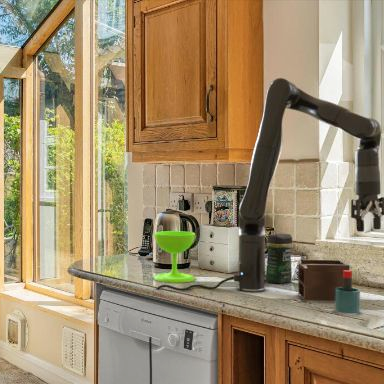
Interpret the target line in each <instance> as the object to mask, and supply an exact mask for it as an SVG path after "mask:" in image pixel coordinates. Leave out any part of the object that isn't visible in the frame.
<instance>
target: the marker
mask: <svg viewBox="0 0 384 384" xmlns="http://www.w3.org/2000/svg"><path fill="white" fill-rule="evenodd" d="M352 288H353V270H350V269H349V270H343V291H351V292H352Z"/></svg>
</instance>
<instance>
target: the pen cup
mask: <svg viewBox="0 0 384 384" xmlns="http://www.w3.org/2000/svg"><path fill="white" fill-rule="evenodd" d="M334 311H335V312H337V313H341V314H352V315H353V314H354V315H355V314H359V313H360V312H361V290H360V289H359V288H356V287H352V292H351V291H343V287H338V288H335V301H334Z"/></svg>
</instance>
